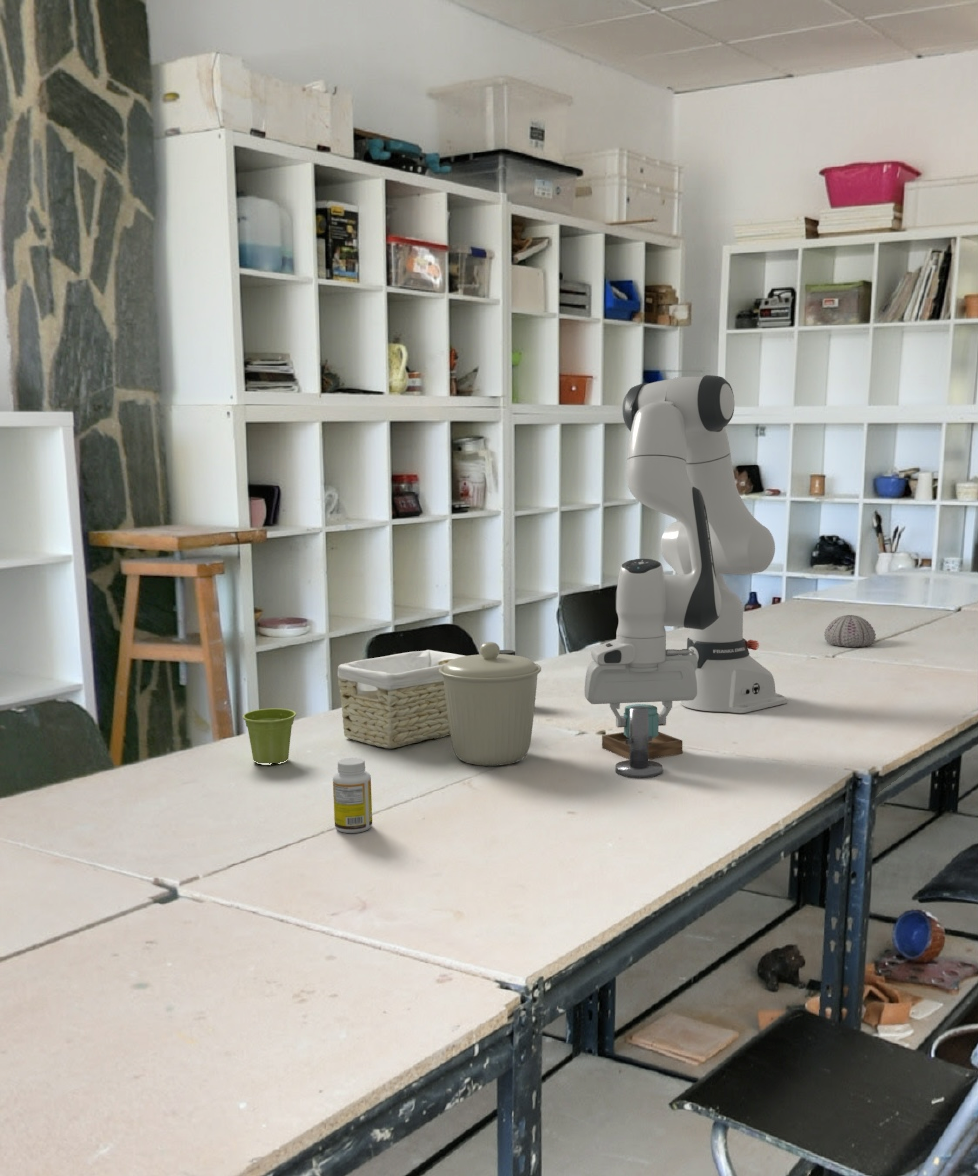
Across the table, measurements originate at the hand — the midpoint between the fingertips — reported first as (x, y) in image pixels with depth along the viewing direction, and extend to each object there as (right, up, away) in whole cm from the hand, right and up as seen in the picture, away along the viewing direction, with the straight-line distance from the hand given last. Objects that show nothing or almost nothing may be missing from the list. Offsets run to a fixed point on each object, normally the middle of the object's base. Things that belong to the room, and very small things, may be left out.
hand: (640, 725), depth 217 cm
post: (-2, -6, -13) cm, 14 cm away
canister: (-27, -6, -3) cm, 28 cm away
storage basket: (-43, -4, +16) cm, 46 cm away
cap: (0, -2, 0) cm, 2 cm away
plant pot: (-66, -6, -3) cm, 67 cm away
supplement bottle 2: (-24, -1, +37) cm, 45 cm away
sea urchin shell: (+69, +9, +105) cm, 126 cm away
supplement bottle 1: (-48, -11, -40) cm, 63 cm away
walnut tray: (0, -5, +1) cm, 5 cm away
